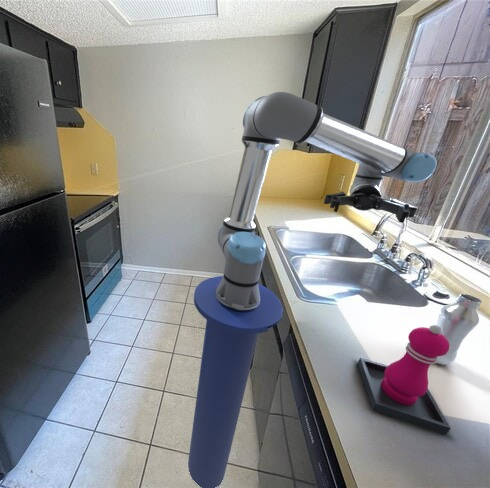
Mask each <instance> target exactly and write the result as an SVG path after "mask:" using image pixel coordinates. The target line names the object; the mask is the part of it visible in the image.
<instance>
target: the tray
mask: <svg viewBox="0 0 490 488" xmlns="http://www.w3.org/2000/svg"><path fill="white" fill-rule="evenodd" d="M356 363H357V367H358V370H359V373H360V376H361V379H362V382H363V385H364V388H365V390H366V393H367V397H368V399H369V403H370V406H371V408H372V411H375V412H378V413H381V414H384V415H386V416H390V417H393V418H396V419H398V420H401V421H403V422H404V421H405V422H407V423H409V424H410V423H411V424H413V425H416V426H420V427H423V428H425V429H427V430H431V431H434V432H437V433H440V434H442V435H447V434H448V433H449V432H450V431H451V429H452V428H451V426H450V424H449V422H448V421H447V419H446V417H445V415H444V414H443V412H442V411H441V409H440V407H439V405H438V403H437V401H436V400H435V398H434V397H433V394H432V392H431V391H430V389H429V388H428V389H427V391H426V393H425V394H424V395H423V396H419V397H418V399H417V401H416V402H415V404H413V405H403V404H400V403H398V402H396V401H394V400H393V399H391V398H390V397H389V396H388V395H387V394H386V393H385V392H384V391H383V389H382V387H381V382H382V381H383V379H384V378H385V369H386V368H387V367H388V365H387V364H384V363H380V362H377V361H372V360H370V359H366V358H363V357H359V359H358V361H357V362H356Z"/></svg>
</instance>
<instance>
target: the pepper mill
mask: <svg viewBox="0 0 490 488" xmlns="http://www.w3.org/2000/svg"><path fill="white" fill-rule="evenodd" d="M441 332H442V329H441V328H440V327H439V326H437V325H436V324H432V325H430V326H429V327H425V326H424V327H421V326H420V327H416V328H413V329H412V330H411V331H410V332H409V333H408V337H407V338H408V341H409V342H407V344H406V345H405V353H404V355H403V356H402V357H401V358H400V359H398V360H396V361H394V362H391V363H389V364H388V365H387V366H388V367H387V368H386V369H385V378H384V379H383V381H382V382H381V387H382V389H383V391H384V392H385V393H386V394H387V395H388V396H389V397H390V398H391V399H393V400H394V401H396V402H398V403H400V404H403V405H413V404H415V402H416V401H417V399H418V397H419V396H423V395H424V394H425V393H426V391H427V389H429V375H428V372H429V369H430V366H431V365H435V364H437V363H436V362H437V360H438V359H439V356H443V355H445V354H446V353H447V352H448V350H449V342H448V340H447V339H446V337H445V336H443V335H442V334H441Z"/></svg>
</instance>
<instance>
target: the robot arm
mask: <svg viewBox="0 0 490 488" xmlns="http://www.w3.org/2000/svg"><path fill="white" fill-rule="evenodd" d="M242 127H243V132H242V137H241V143H242V144H243V147H244V149H243V153H242V158H241V163H240V167H239V172H238V175H237V180H236V184H235V189H234V193H233V197H232V202H231V206H230V210H229V215H228V216H225V217H224V218H223V222H222V225H221V226H220V227H219V229H218V233H217V243H218V245H219V247H220V249H221V252H222V254H223V256H224V258H225V263H224V269H223V275H222V276H223V278H222V280H221V282H220V283H219V285H218V287H217V289H216V294H215V297H216V299H217V301H218V302H219V303H220V304H221V305H222V306H224V307H225V308H228V309H230V310H233V311H237V312H250V311H253V310H255V309H257V308H258V307H259V304H260V293H259V287H258V284H259V280H260V277H261V273H262V268H263V264H264V259H265V256H266V248H267V245H266V242H265V240H264V239H263V238H262V237H261V236H259V235H258V234H257V235H256V234H255V231H256V228H257V227H256V226H257V225H256V223H255V221H254V218H255V214H256V210H257V207H258V204H259V199H260V195H261V192H262V189H263V185H264V181H265V179H266V178H265V177H266V174H267V170H268V167H269V163H270V159H271V156H272V152H273V150H275V149H276V148H277V147H279V145H280V141H281V140H286V141H291V142H294V143H296V144H299V145H302V144H304V143H306V144H307V143H308V144H310V145H312V146H314V147H317V148H319V149H322V150H324V151H327V152H330V153H332V154H334V155H337V156H340V157H342V158H344V159H347V160H350V161H353V162H355V163H357V164H358V167H357V170H356V173H355V176H354V178H353V181H352V184H351V186H350V189H349V195H347V193H345V192H344V191H340V192H336V193H330V194H326V195H325V197H324V201H323V204H325V205H329V208H331V209H333V212H334V213H338V210H339V207H340V206H349V207H353V208H354V209H356V210H357V211H363V212H365V211H370V210H375V211H384V212H387V213H390V214H393V215H395V218H396V219H397V221H398V223H400V224H404V222H405V220H406V218H414V217H415V215H416V213H417V210H418V207H416V206H414V205H411V204H410V203H405V202H402V201H400V200H398V199H396V198H390V199H389V200H387V198H386V197H382V193H381V191H380V187H381V185H382V182H383V179H384V177H386V178H391V179H395V180H400V181H403V182H407V183H409V182H410V183H421V182H423V181H425V180H427V179H428V178H430V177H431V176H432V174H433V173H434V172H435V170H436V168H437V165H438V163H437V159H436V156H434V155H433V154H430V153H425V152H423V151H422V152H421V151H419V152H417V151H414V150H412V149H410V148H407V147H403V146H401V145H400V144H397V143H394V142H392V141H390V140H388V139H385V138H383V137H380V136H378V135H376V134H373V133H371V132H369V131H366V130H364V129H361V128H359V127H357V126H354V125H352V124H350V123H348V122H345V121H343V120H340V119H338V118H336V117H333V116H331V115H329V114H326V113H324V109H323V107H322V106H320V105H318V104H315V103H313V102H311V101H309V100H306V99H305V98H302V97H301V96H298V95H295V94H293V93H290V92H287V91H276V92H272V93H269V94H268V95H267V94H266V95H263V96H260V97H257V99H256V98H255V100H254V101H252V102H251V103H250V104H249V105H248V106H247V107H246V109H245V111H244V114H243V116H242Z"/></svg>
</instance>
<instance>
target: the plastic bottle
mask: <svg viewBox="0 0 490 488" xmlns="http://www.w3.org/2000/svg"><path fill="white" fill-rule="evenodd" d="M455 301H456V302H452V303H448V304H446V305H443V307H441V309H440V313H439V315H438V319H437V321H436V323H435V325H437V326H439V327H440V328H441V329H442V332H441V334H442V335H443V336H445V337H446V339H447V340H448V342H449V350H448V352H447V353H446V354H445V355H443V356H439V359H438V360H437V362H436V363H435V364H439V365H443V366H444V365H445V366H446V365H450V364H452V363H453V362H454V361H456V358H457V354H458V351H459V349H460V347H461V344H462V342H463V341H464V339H466V337H467V336H468V334H469V333H470V332H471V331H472V330H474V328H475V327H477V325H479V322H480V317H479V314H478V312H477V310H478V309H479V308H480V306H481V305H482V303H483V301H482V300H481V299H480V298H478V297H476V296H474V295H471V294H468V293H460V294H459V295H458V296H457V298H456V299H455Z"/></svg>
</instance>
